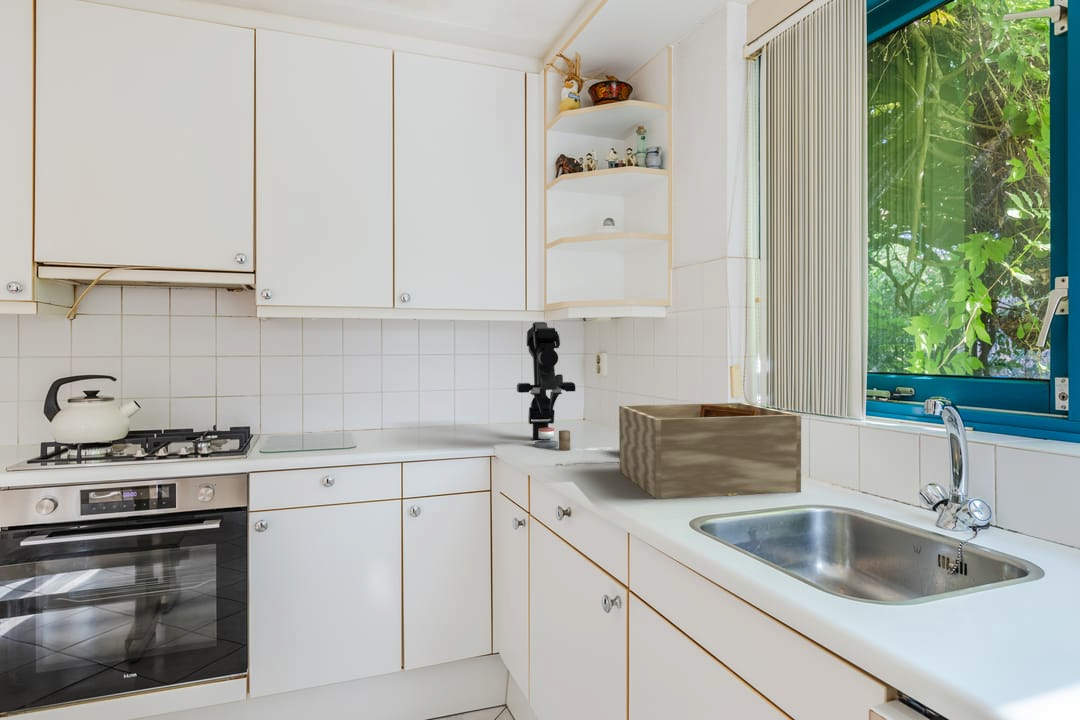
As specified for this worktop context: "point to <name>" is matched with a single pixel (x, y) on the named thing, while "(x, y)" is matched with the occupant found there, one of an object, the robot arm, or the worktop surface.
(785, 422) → the crate
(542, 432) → the dome
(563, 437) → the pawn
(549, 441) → the board
